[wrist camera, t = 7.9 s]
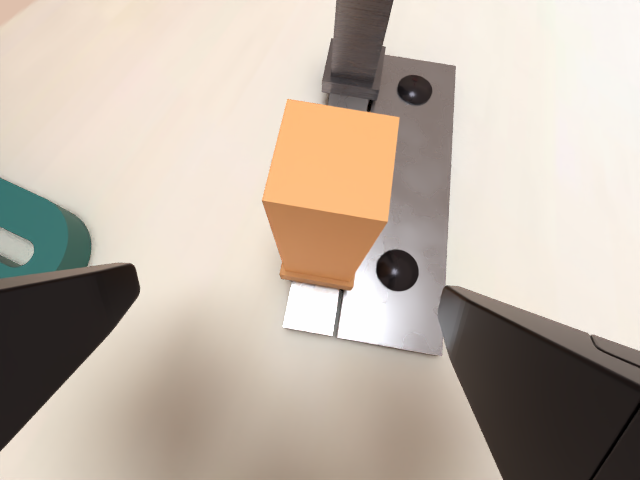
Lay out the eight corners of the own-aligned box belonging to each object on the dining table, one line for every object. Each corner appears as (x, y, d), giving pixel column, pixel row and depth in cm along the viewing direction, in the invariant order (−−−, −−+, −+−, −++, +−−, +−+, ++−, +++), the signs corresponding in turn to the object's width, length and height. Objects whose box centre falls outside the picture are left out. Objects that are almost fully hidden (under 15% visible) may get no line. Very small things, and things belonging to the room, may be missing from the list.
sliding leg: (350, 291, 18) (395, 231, 9) (281, 279, 18) (250, 207, 9) (359, 227, 20) (408, 111, 10) (294, 216, 20) (281, 91, 10)
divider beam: (340, 337, 19) (385, 328, 8) (275, 326, 19) (226, 299, 8) (380, 64, 26) (435, -155, 15) (331, 57, 26) (348, -167, 15)
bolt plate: (435, 355, 19) (443, 356, 18) (336, 337, 19) (337, 337, 18) (450, 76, 26) (456, 64, 25) (376, 64, 26) (379, 52, 25)
